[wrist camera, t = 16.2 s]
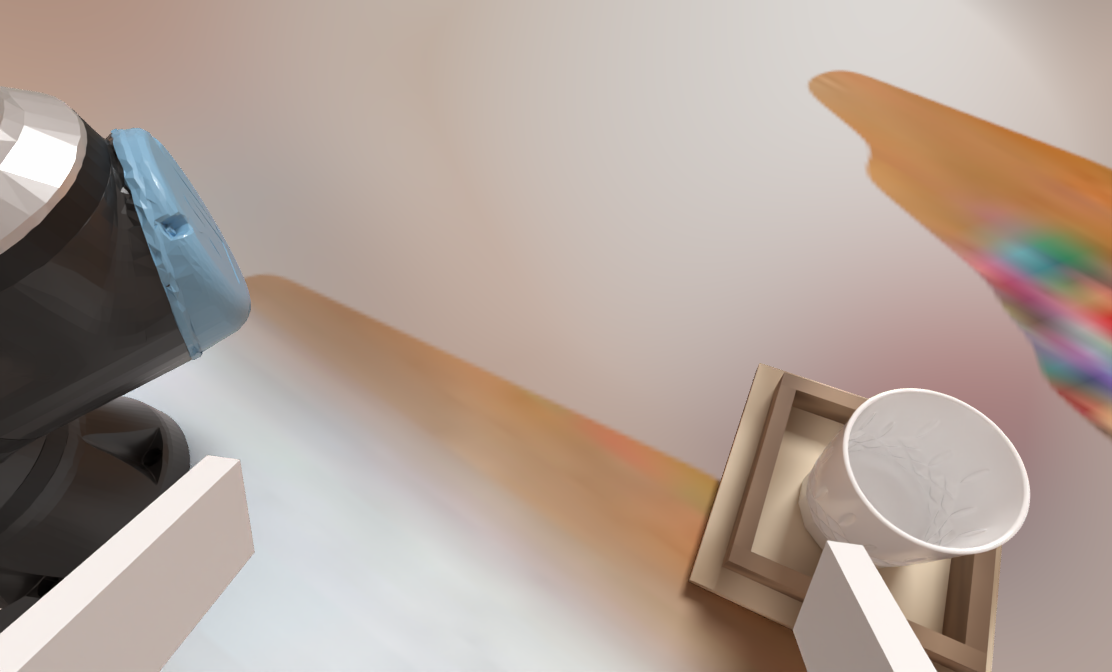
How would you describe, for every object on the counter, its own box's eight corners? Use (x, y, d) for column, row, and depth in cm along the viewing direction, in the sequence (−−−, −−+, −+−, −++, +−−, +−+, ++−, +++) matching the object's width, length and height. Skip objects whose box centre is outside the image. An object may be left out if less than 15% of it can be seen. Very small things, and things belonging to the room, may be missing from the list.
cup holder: (688, 581, 34) (694, 574, 31) (756, 368, 41) (767, 346, 38) (976, 715, 29) (1017, 723, 26) (1000, 450, 36) (1035, 432, 33)
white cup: (790, 567, 33) (850, 537, 24) (786, 443, 37) (837, 379, 28) (933, 591, 31) (1051, 568, 23) (913, 459, 35) (1009, 397, 27)
